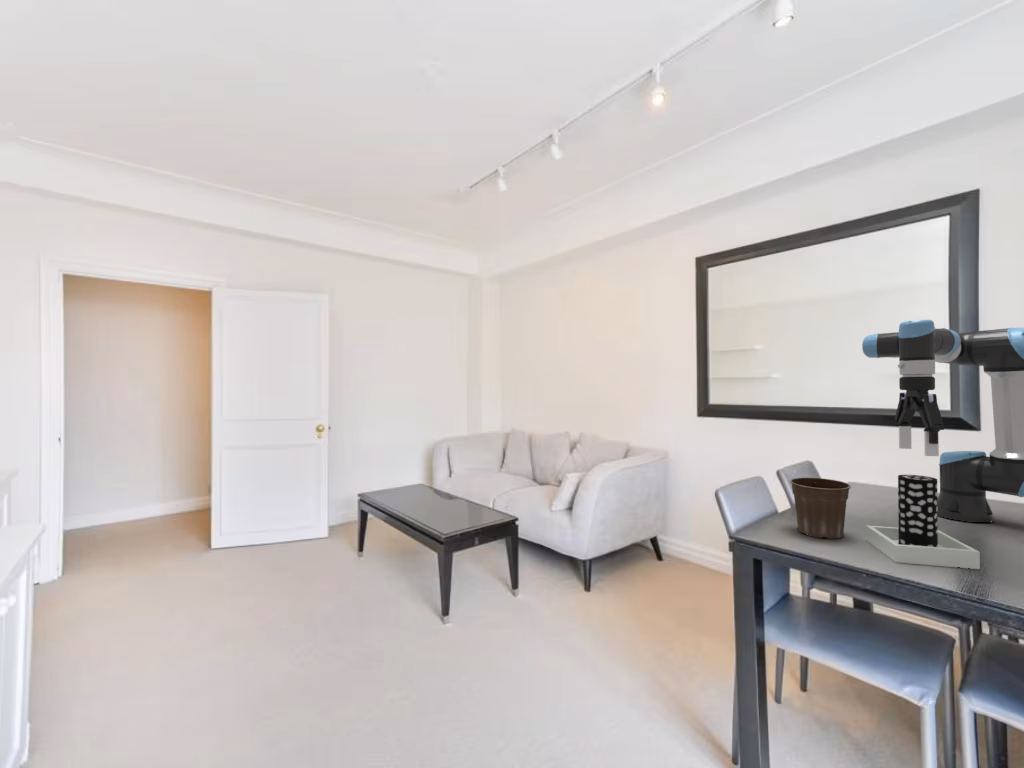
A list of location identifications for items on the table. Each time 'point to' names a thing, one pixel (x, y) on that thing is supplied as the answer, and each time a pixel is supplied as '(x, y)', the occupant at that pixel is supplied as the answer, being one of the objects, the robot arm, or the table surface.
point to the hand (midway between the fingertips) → (917, 452)
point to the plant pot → (820, 506)
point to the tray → (923, 549)
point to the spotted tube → (917, 511)
